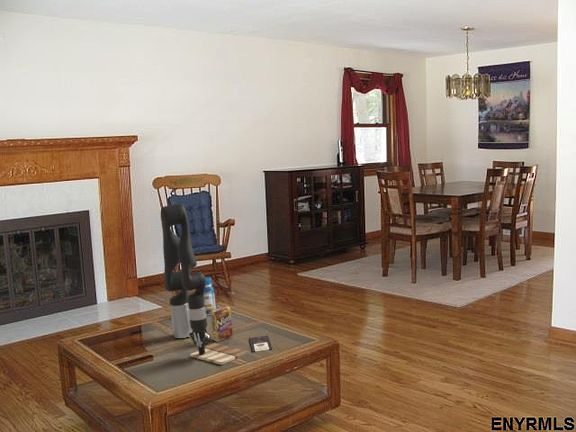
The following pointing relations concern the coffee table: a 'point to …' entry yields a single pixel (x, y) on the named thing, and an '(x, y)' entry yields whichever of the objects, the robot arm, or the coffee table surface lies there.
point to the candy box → (221, 323)
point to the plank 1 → (204, 356)
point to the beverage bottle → (209, 297)
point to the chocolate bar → (260, 344)
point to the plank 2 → (220, 358)
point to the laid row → (227, 350)
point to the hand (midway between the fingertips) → (202, 354)
